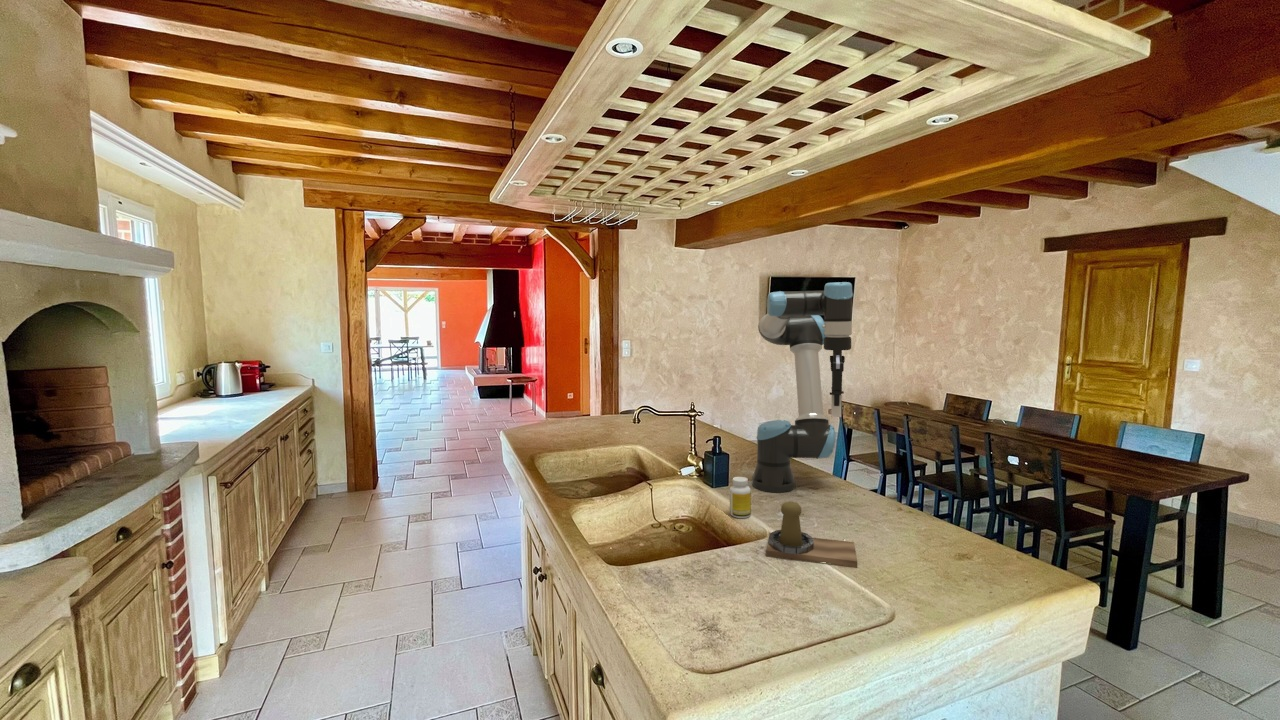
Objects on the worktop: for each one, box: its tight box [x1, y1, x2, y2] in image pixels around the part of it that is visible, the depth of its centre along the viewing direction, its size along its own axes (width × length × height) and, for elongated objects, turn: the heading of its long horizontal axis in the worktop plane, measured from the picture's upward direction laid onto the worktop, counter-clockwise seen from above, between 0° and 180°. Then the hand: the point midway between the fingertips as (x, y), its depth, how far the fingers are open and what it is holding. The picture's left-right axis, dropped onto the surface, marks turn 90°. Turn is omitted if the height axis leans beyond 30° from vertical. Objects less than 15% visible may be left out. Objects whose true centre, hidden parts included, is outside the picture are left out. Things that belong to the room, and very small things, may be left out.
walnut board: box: [765, 532, 858, 568], centre depth 137 cm, size 11×22×2 cm, turn 72°
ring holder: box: [768, 529, 814, 554], centre depth 138 cm, size 11×11×2 cm
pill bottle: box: [729, 476, 752, 519], centre depth 162 cm, size 6×6×12 cm
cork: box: [779, 501, 803, 546], centre depth 138 cm, size 6×6×11 cm
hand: (836, 416), depth 152 cm, fingers closed
